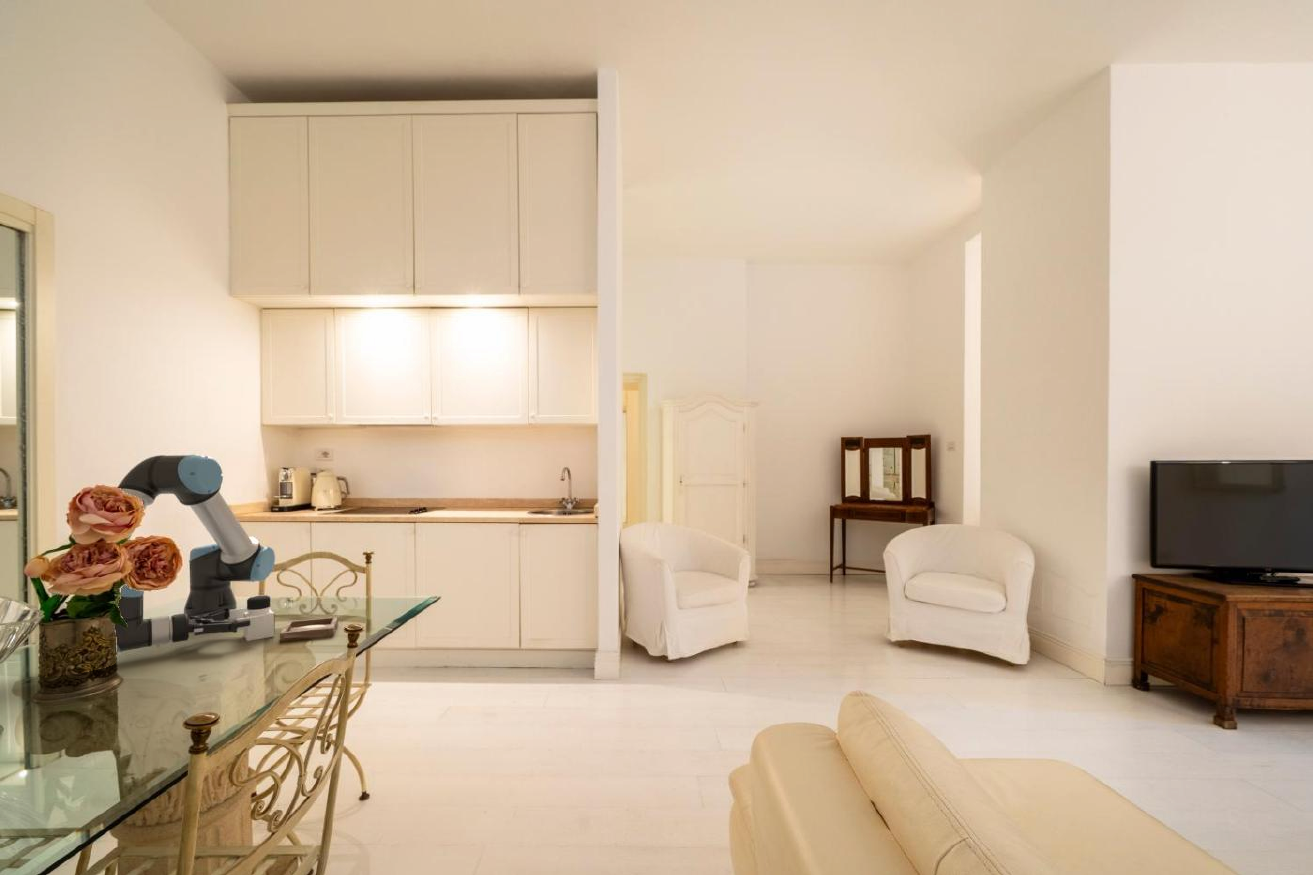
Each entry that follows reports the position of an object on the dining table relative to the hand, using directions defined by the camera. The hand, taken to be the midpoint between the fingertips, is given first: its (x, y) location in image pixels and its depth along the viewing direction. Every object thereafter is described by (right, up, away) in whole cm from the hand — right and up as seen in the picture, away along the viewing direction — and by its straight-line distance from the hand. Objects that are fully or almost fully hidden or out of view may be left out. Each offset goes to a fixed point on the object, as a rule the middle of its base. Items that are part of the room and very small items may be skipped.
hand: (258, 615), depth 197 cm
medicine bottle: (0, -7, 0) cm, 7 cm away
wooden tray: (+14, -6, +3) cm, 15 cm away
